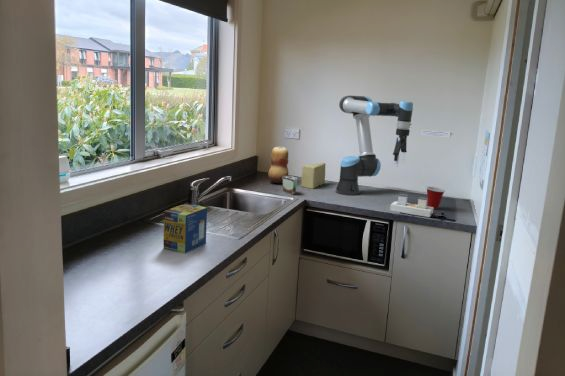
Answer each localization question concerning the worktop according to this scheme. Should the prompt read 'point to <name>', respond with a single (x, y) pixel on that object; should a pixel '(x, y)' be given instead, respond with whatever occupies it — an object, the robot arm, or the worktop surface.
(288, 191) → the food container
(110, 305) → the worktop surface
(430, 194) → the plastic cup
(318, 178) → the cheese
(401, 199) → the grey plug
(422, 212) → the power strip
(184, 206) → the protein box
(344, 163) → the robot arm
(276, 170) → the butternut squash
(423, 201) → the beige plug
